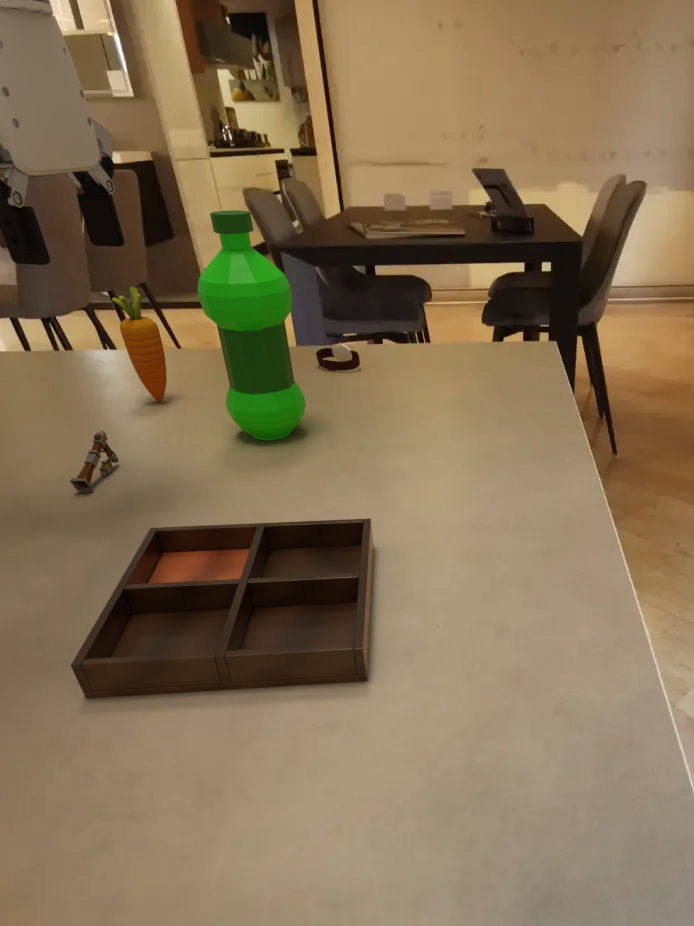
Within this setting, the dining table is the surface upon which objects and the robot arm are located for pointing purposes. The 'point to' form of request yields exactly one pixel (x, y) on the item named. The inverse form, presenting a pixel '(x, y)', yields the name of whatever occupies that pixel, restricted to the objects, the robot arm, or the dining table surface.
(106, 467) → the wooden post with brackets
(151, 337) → the carrot
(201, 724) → the dining table surface
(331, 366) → the watch
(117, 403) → the dining table surface
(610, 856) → the dining table surface
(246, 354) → the plastic bottle
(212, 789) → the dining table surface
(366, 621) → the grid
